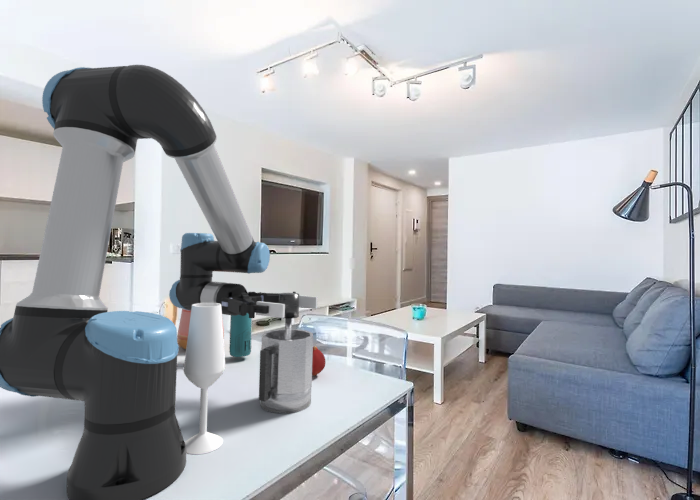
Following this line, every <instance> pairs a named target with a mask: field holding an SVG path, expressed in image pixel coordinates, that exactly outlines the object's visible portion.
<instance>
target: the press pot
mask: <svg viewBox="0 0 700 500" xmlns="http://www.w3.org/2000/svg"><path fill="white" fill-rule="evenodd" d="M260 345H261V349H260V351H259V352H260V353H259V377H258V378H259V383H258V401H259V402H260V403H259V404H260V407H261V408H262V409H263V410H265V411H266V412H270V413H274V414H293V413H298V412H301V411H303V410H306V409H307V408H309V407H310V405H311V404H312V383H313V382H312V381H313V375H312V358H313V347H314V333H313V332H311V331H308V330H304V329H297V328H295V329H294V328H291V340H285V328H282V329H273V330H269V331H266V332H263V333H262V335H261V344H260Z"/></svg>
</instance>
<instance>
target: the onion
mask: <svg viewBox="0 0 700 500" xmlns="http://www.w3.org/2000/svg"><path fill="white" fill-rule="evenodd" d="M325 367H326V357H325V355H324V353H323V352H322V351H321V350H320V349H319V348H318V347H317V346H316V345H315V346H314V345H313V358H312V377H316V376H318V375H319V374H320V373H322V371H323V370H324V369H325Z"/></svg>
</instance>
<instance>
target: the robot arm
mask: <svg viewBox="0 0 700 500" xmlns="http://www.w3.org/2000/svg"><path fill="white" fill-rule="evenodd" d="M41 97H42V98H41V99H42V100H41V103H42V109H43V112H44V113H46V114H47V117H46V120H47V121H48V124H49V125H50V126H51V127H52V128H53V129H54V130H53V134H52V135H53V137H54V139H55V140H56V141H57V142H58V143H59V145H60V146H61V154H60V159H59V164H58V168H57V173H56V176H55V177H56V178H55V183H54V188H53V191H52V196H51V201H50V204H49V205H50V206H49V211H48V216H47V221H46V226H45V229H44V235H43V240H42V244H41V248H40V253H39V259H38V263H37V268H36V273H35V278H34V281H33V287H32V292H31V293H30V294H29V295H28V296H26V297H25V298H23V299H22V300H20V301H18V302H16V305H15V309H14V314H13V317H12V318H10V319H8V320H6V321H4V322H2V323H1V324H0V388H1V389H2V390H5V391H7V392H8V391H9V392H13V393H17V394H20V395H22V396H26V397H31V398H32V397H46V398H53V399H63V400H71V401H72V400H73V401H79V402H80V401H81V402H84V416H83V417H84V418H83V420H84V421H83V432H82V435H81V438H80V439H79V442H78V444H77V448H76V450H75V453H74V456H73V458H72V462H71V463H70V466H69V468H68V471H67V475H66V495H67V497H68V499H69V500H143V499H146V498H148V497H150V496H153V495H155V494H157V493H159V492H160V491H162V490H165V489H166V488H167V487H168V486H170V485H172V484H173V483H174V482H175V481H177V479H179V477H180V476H181V474H183V472H184V470H185V467H186V465H187V453H186V445H185V440H184V438H183V434H182V431H181V427H180V424H179V421H178V419H177V415H176V396H177V376H178V375H177V372H178V354H179V348H180V346H179V345H178V343H177V334H178V329H177V327H176V325H175V323H174V322H173V321H172V320H171V319H170V318H168V317H167V316H164V315H161V314H158V313H153V312H147V311H129V310H114V311H113V310H112V311H108V309H109V307H108V306H106V304H105V303H104V302H103V301H102V300H101V298H100V294H101V289H102V283H103V276H104V271H105V265H106V261H107V260H106V259H107V253H108V249H109V245H110V244H109V243H110V239H111V232H112V227H113V222H114V214H115V210H116V204H117V198H118V193H119V192H118V191H119V186H120V183H121V182H120V181H121V176H122V169H123V164H124V162H126V161H129V160H132V159H133V158H134V157H135V155H136V149H137V144H138V143H137V142H138V140H140V139H141V140H142V139H144V140H146V139H147V140H149V139H152V140H154V141H156V142H157V143H158V144H159V145H160V146H161V148H162V150H163V152H164V154H165V156H167V157H170V158H172V159H174V161H175V162H176V164H177V166H178V167H179V170H180V172H181V173H182V175H183V176H182V177H183V178H184V179H185V181H186V184H187V185H188V187H189V189H190V191H191V193H192V195H193V196H194V198H195V200H196V202H197V204H198V207H199V208H200V210H201V212H202V214H203V215H204V218H205V219H206V221H207V223H208V226H209V227H210V229H211V231H212V232H213V234H214V235H213V234H212V233H206V232H203V233H202V232H185V233H184V234H183V235H182V236H181V246H180V265H179V266H180V267H179V268H180V271H179V272H180V274H179V279H178V280H176V281H175V282H174V283H173V284H172V285H171V288H170V290H169V294H168V295H169V300H170V302H171V304H172V305H173V306H174V307H176V308H179V309H181V310H182V309H186V310H191V308H192V305H193V304H197V303H220V304H221V308H222V315H226V316H231V315H233V316H236V315H242V316H245V315H247V313H248V314H249V318H251V319H255V318H256V317H255V315H256V316H263V317H271V318H279V319H285V318H284V317H285V304H280V303H279V294H280V293H281V292H280V293H279V292H278V293H277V292H261V291H260V292H255V291H247V288H246V287H245V286H244V285H242V283H241V284H240V283H232V282H223V281H213V278H214V277H213V273H214V272H224V273H239V274H240V273H241V274H261V273H262V274H263V273H264V272H265V271H267V269H268V266H269V264H270V260H271V259H270V253H271V252H270V248H269V247H268V245H267V244H266V243H265V242H260V241H255V239H254V238H253V235H252V233H251V231H250V228H249V225H248V223H247V221H246V218H245V216H244V214H243V211H242V209H241V206H240V204H239V202H238V199H237V197H236V195H235V192H234V190H233V188H232V184H231V182H230V180H229V178H228V175H227V172H226V170H225V168H224V165H223V163H222V161H221V158H220V155H219V154H218V152H217V151H218V150H217V149H216V146H215V144H216V142H217V139H218V137H217V134H216V131H215V128H214V126H213V124H212V122H211V120H210V119H209V117H208V115H207V113H206V111H205V109H204V108H203V107H202V106H201V104H200V103H199V101H198V100H197V99H196V98H195V97H194V96H193V95H192V93H191V92H190V91H189V90H188V89H187V88H186V87H185V86H184V85H183V84H182V83H180V82H179V81H178V80H177V79H175V78H174V76H173V77H172V76H171V75H170V74H168V73H166V72H165V71H163V70H161V69H158V68H156V67H153V66H150V65H145V64H129V65H120V66H119V65H118V66H105V67H103V66H102V67H85V66H83V67H82V66H80V67H75V68H73V69H69V70H68V69H66V70H64V71H63V70H62V71H60V72H58V73H56V74H54V75H53V76H51V78H49V79H48V81H47V83H46V84H45V86H44V88H43V91H42V96H41ZM214 238H216V240H215V239H214ZM212 281H213V282H212ZM292 293H296V291H292ZM318 299H319V296H314V295H313V296H312V295H310V296H309V295H302V294H299V308H306V309H315V310H317V309H318V306H319V305H318V304H319V303H318V302H319V300H318Z"/></svg>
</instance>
